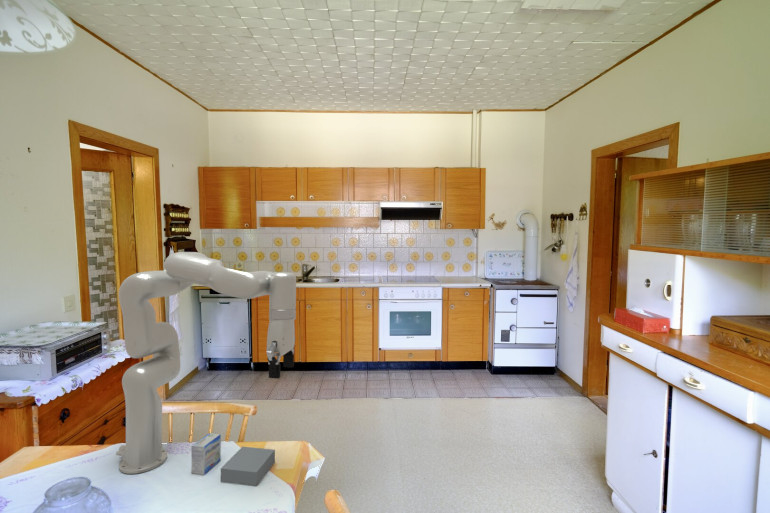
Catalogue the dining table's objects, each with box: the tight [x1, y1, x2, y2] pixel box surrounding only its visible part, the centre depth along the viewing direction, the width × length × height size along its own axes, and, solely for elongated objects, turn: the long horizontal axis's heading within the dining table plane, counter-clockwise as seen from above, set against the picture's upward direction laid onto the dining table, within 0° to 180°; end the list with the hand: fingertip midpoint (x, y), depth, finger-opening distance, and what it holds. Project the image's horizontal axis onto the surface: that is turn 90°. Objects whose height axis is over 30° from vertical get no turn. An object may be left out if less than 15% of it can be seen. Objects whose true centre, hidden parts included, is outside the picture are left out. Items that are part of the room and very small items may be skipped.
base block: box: [220, 446, 276, 487], centre depth 111 cm, size 11×12×4 cm
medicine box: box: [190, 432, 222, 476], centre depth 113 cm, size 8×4×9 cm, turn 168°
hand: (281, 372), depth 108 cm, fingers open, 9 cm apart
